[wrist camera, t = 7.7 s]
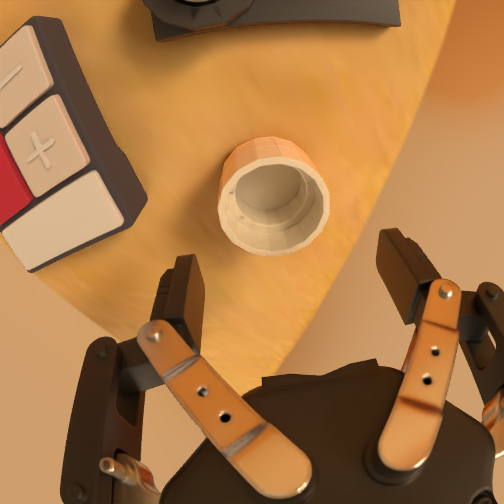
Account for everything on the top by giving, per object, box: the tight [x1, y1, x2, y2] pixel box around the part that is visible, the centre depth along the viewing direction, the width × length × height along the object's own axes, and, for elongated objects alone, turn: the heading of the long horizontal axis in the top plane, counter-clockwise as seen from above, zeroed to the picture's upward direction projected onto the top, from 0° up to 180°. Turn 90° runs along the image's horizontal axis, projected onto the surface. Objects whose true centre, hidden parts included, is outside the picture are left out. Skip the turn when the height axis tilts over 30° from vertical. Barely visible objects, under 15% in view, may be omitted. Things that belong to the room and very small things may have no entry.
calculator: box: [0, 16, 148, 273], centre depth 15 cm, size 11×4×15 cm
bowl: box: [217, 136, 330, 257], centre depth 18 cm, size 6×6×4 cm
